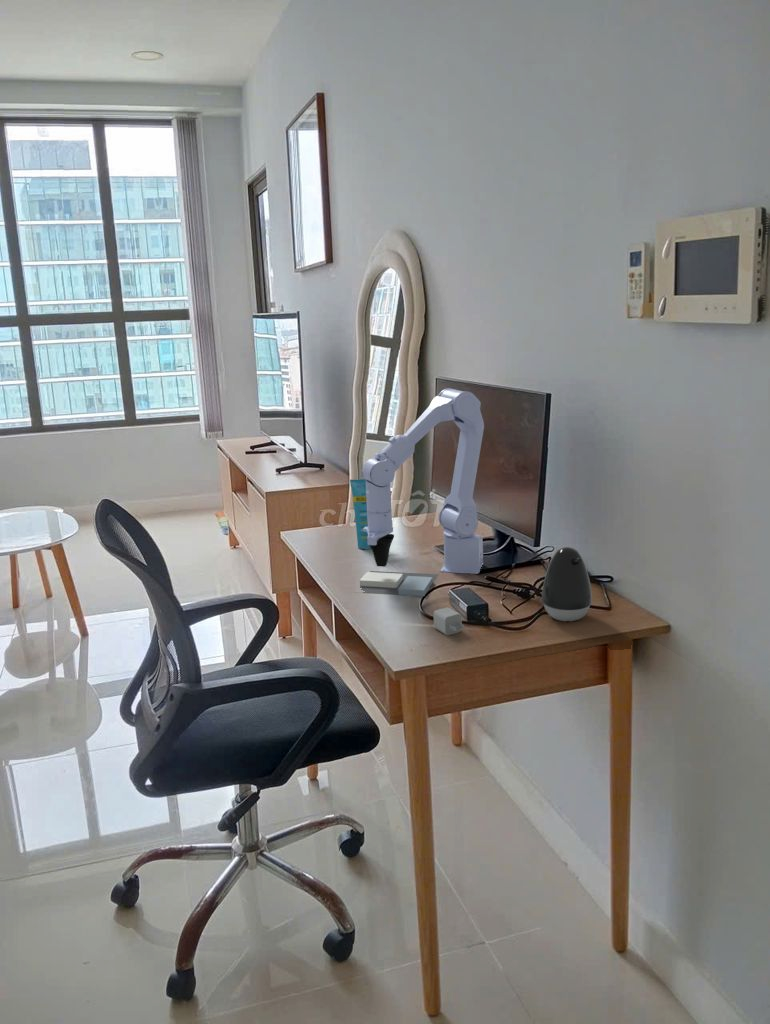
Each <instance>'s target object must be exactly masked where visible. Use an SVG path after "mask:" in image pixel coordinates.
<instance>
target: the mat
mask: <svg viewBox="0 0 770 1024" xmlns="http://www.w3.org/2000/svg"><path fill="white" fill-rule="evenodd" d="M369 572H377V573H397V574H403V580H402V582H401V583H400V584H399V586H398V587H397V588H388V587H370V586H360V588H362V589H361V590H363V591H365V592H363V594H374V595H375V594H376V595H392V596H393V595H395V596H399V595H398V588H399V587H400V586H401V584H402V583H403V582H404V580H405V579H406V578H407V576H420V577H433V583H434V582H435V580H436V579H437V578H438V576H439V573H437V574H436V573H435V574H434V573H419V572H418V573H416V572H395V571H383V570H382V571H378V570H370V571H369ZM429 589H430V588H429ZM429 589H428V591H429ZM428 591H427V592H426V594H427V593H428ZM406 596H409V597H412V596H411V595H406Z"/></svg>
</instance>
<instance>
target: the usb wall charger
mask: <svg viewBox="0 0 770 1024" xmlns="http://www.w3.org/2000/svg"><path fill="white" fill-rule="evenodd" d="M462 619H463V618H462V614H461V613H459V612H457V611H456V610H454V609H452V608H450V607H448V606H447V607H443V608H439V609H436V610H434V611H433V627H434V629H436V630H437V631H440V632H441V633H442V634H444V635H445V636H450V635H453V634H456V633H460V632H461V631H462V629H463V630H465V629H466V626H465V625H464V624H463V621H462Z"/></svg>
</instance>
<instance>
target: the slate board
mask: <svg viewBox="0 0 770 1024" xmlns="http://www.w3.org/2000/svg"><path fill="white" fill-rule="evenodd" d="M433 583H434V582H433V577H420V576H407V578H406V579H405V580H404V582H403V583H402V584H401V586H400V587H399V588H398V595H397V596H407V595H411V596H410V597H425V596H426V594H427V593H428V591H429V590H428V589H430V587H431V586H432V585H433ZM426 592H427V593H426Z"/></svg>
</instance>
